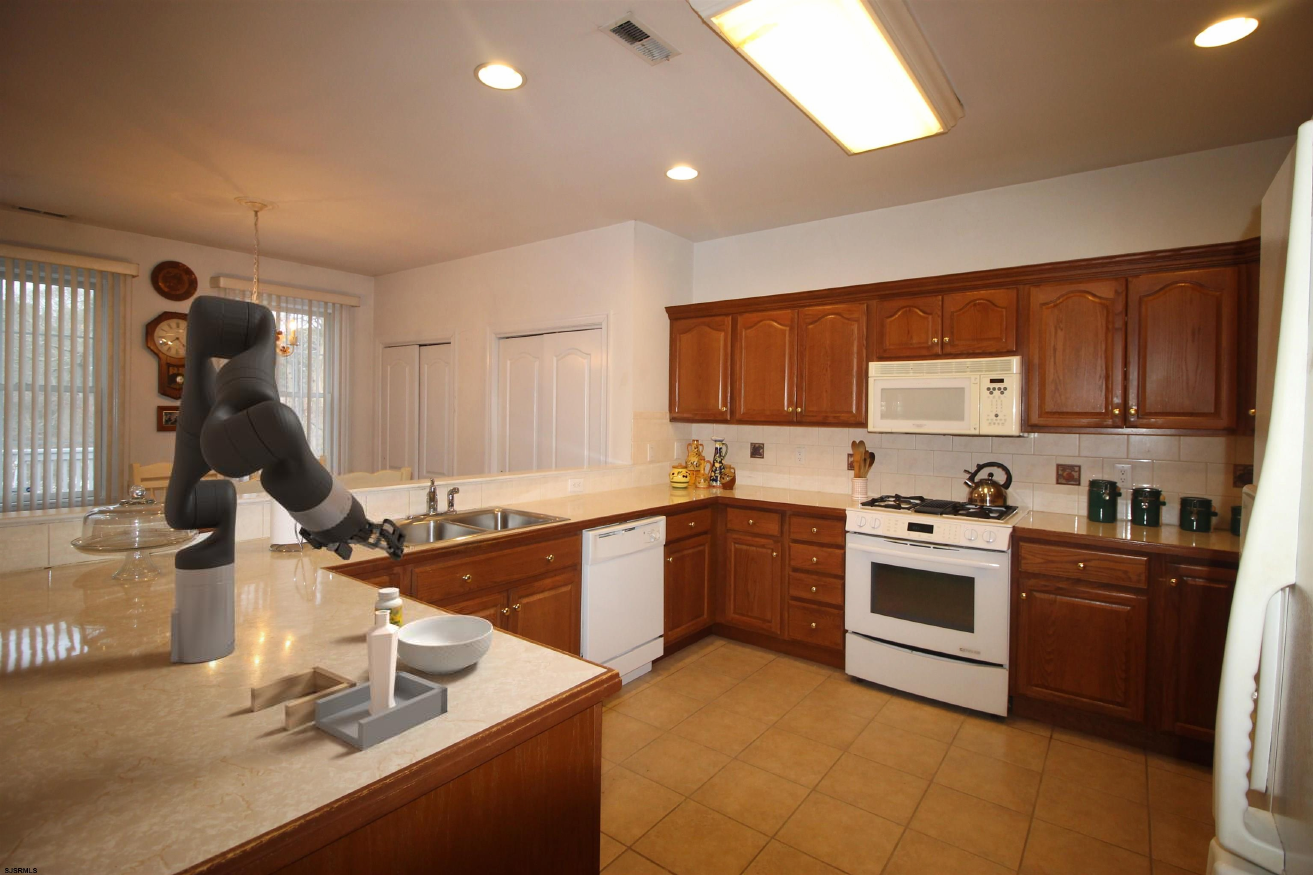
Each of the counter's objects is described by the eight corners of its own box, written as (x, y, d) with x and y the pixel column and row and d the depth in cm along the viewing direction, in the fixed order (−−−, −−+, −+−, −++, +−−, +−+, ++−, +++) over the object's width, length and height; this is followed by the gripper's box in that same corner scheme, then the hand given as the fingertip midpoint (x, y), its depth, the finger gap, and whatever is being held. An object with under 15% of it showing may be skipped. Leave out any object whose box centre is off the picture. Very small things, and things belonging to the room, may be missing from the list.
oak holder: (289, 730, 90) (289, 706, 90) (251, 709, 96) (251, 687, 96) (356, 703, 99) (356, 682, 99) (317, 686, 105) (317, 665, 105)
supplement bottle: (399, 629, 134) (399, 585, 134) (404, 636, 130) (405, 591, 129) (372, 633, 131) (372, 588, 131) (376, 641, 127) (377, 594, 126)
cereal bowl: (399, 692, 103) (400, 650, 103) (391, 658, 118) (391, 621, 118) (502, 674, 111) (502, 635, 111) (482, 644, 126) (482, 610, 126)
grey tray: (362, 750, 85) (363, 723, 85) (315, 725, 92) (315, 700, 92) (447, 711, 97) (447, 687, 97) (399, 692, 103) (399, 670, 103)
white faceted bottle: (371, 703, 97) (372, 607, 96) (400, 702, 97) (401, 607, 96) (359, 717, 92) (359, 616, 92) (389, 716, 92) (390, 616, 92)
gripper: (380, 483, 89) (422, 534, 103) (286, 483, 91) (340, 533, 104) (363, 530, 85) (409, 577, 98) (265, 529, 86) (324, 576, 99)
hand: (374, 555), depth 101 cm, fingers open, 8 cm apart
